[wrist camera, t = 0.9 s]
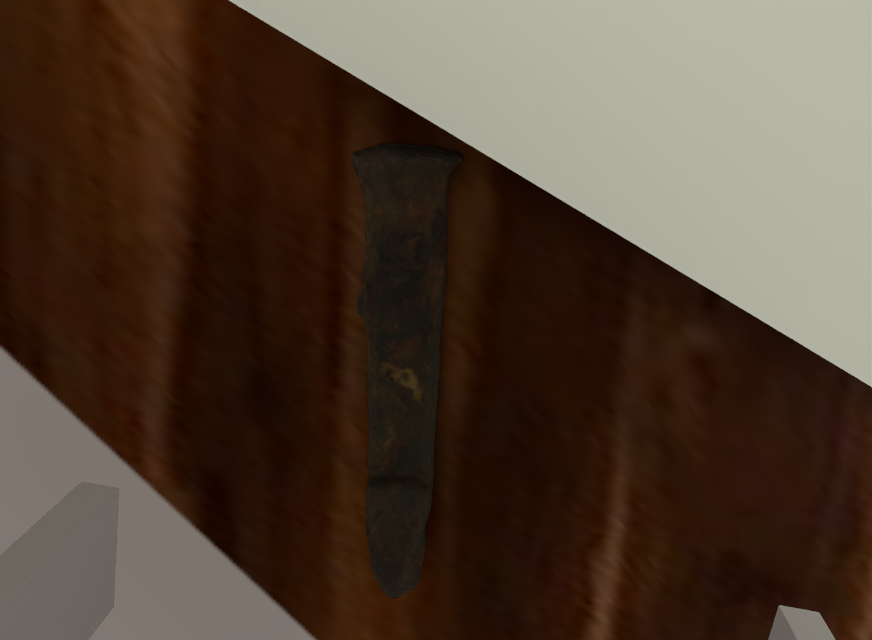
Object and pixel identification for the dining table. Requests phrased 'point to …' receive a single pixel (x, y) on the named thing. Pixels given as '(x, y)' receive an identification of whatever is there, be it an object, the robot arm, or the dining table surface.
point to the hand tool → (402, 346)
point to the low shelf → (657, 129)
